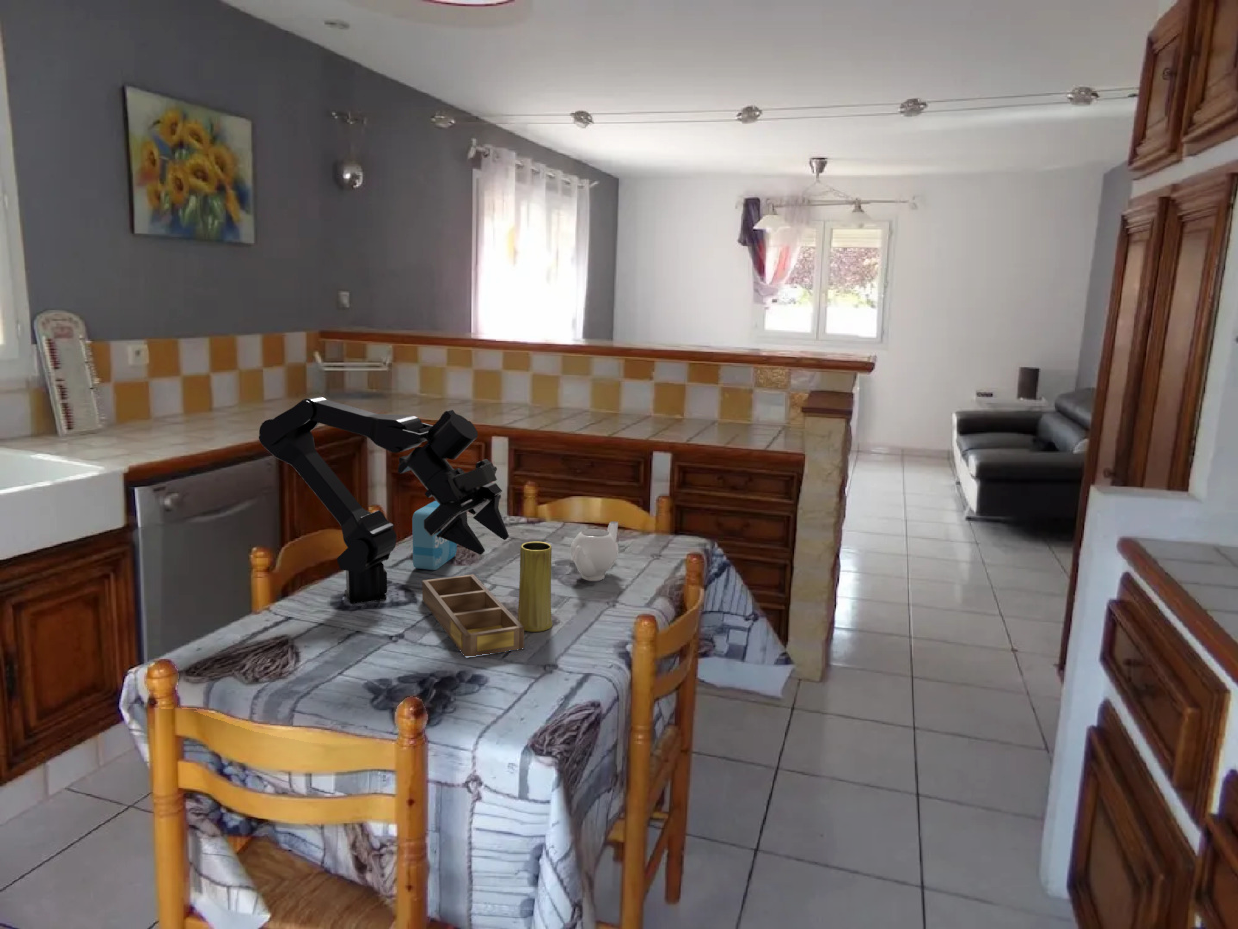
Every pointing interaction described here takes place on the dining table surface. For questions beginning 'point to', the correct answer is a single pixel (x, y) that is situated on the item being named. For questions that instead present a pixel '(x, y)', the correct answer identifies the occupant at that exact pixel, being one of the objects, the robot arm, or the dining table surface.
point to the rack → (472, 615)
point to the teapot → (595, 551)
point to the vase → (535, 586)
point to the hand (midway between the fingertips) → (495, 545)
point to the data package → (429, 542)
